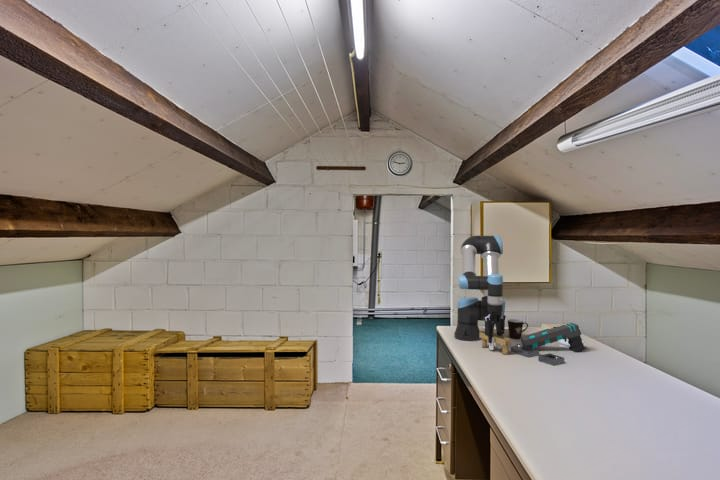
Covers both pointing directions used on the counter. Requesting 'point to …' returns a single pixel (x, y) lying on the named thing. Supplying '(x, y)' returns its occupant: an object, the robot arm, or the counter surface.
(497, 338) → the gold bar
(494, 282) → the robot arm
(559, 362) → the chain end
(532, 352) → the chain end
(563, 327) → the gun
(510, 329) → the coffee mug
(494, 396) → the counter surface
